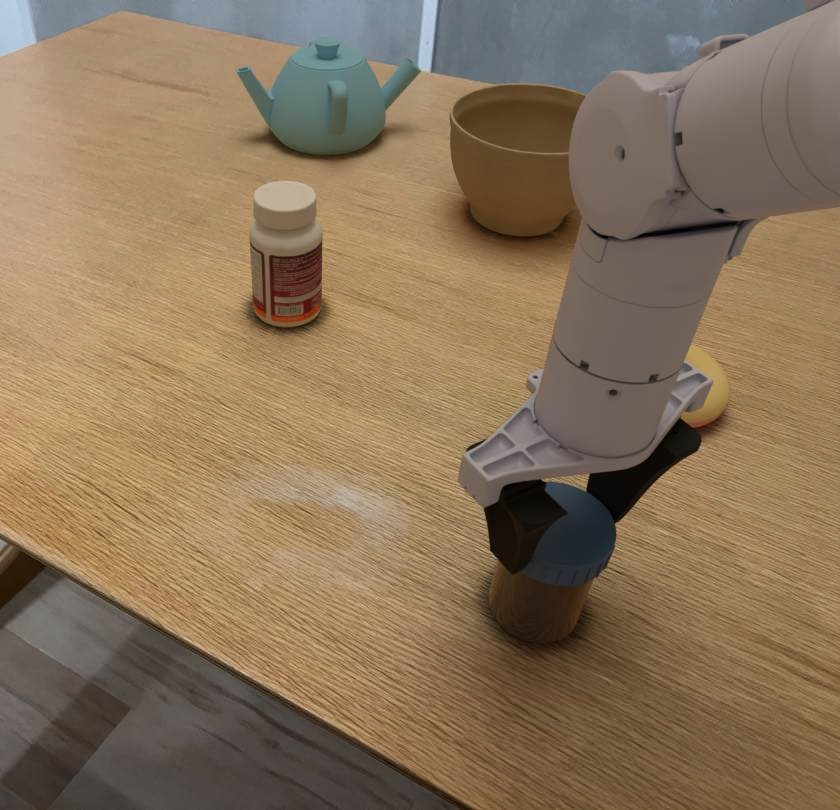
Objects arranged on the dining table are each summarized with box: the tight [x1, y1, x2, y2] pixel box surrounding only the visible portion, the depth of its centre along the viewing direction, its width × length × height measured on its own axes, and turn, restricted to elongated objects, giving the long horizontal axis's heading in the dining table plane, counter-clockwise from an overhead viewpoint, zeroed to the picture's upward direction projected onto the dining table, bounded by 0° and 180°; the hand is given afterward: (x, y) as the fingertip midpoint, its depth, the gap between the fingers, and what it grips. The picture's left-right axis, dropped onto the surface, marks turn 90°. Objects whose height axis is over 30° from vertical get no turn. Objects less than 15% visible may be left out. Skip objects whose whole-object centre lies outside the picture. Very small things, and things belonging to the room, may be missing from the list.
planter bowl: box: [449, 82, 587, 238], centre depth 83 cm, size 16×16×11 cm
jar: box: [488, 559, 595, 644], centre depth 48 cm, size 5×5×8 cm
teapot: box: [235, 36, 422, 156], centre depth 98 cm, size 15×17×11 cm
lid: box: [522, 481, 618, 586], centre depth 46 cm, size 6×6×2 cm
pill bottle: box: [248, 180, 324, 328], centre depth 70 cm, size 6×6×11 cm
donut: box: [681, 343, 731, 429], centre depth 64 cm, size 10×5×9 cm
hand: (555, 535), depth 46 cm, fingers open, 6 cm apart
